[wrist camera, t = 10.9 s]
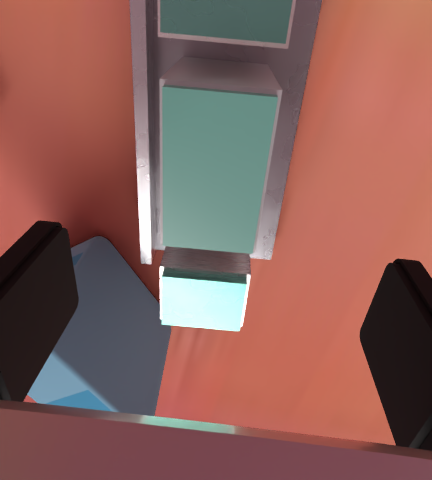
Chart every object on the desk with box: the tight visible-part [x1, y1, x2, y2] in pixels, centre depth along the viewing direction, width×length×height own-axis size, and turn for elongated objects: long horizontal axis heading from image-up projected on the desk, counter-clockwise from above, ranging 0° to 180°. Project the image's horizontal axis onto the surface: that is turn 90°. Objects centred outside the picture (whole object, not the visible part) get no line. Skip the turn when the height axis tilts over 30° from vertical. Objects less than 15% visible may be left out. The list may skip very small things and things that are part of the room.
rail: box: [130, 0, 322, 331], centre depth 21 cm, size 10×20×11 cm, turn 176°
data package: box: [27, 236, 171, 416], centre depth 29 cm, size 12×4×12 cm, turn 28°
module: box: [159, 57, 282, 254], centre depth 20 cm, size 5×8×8 cm, turn 176°
